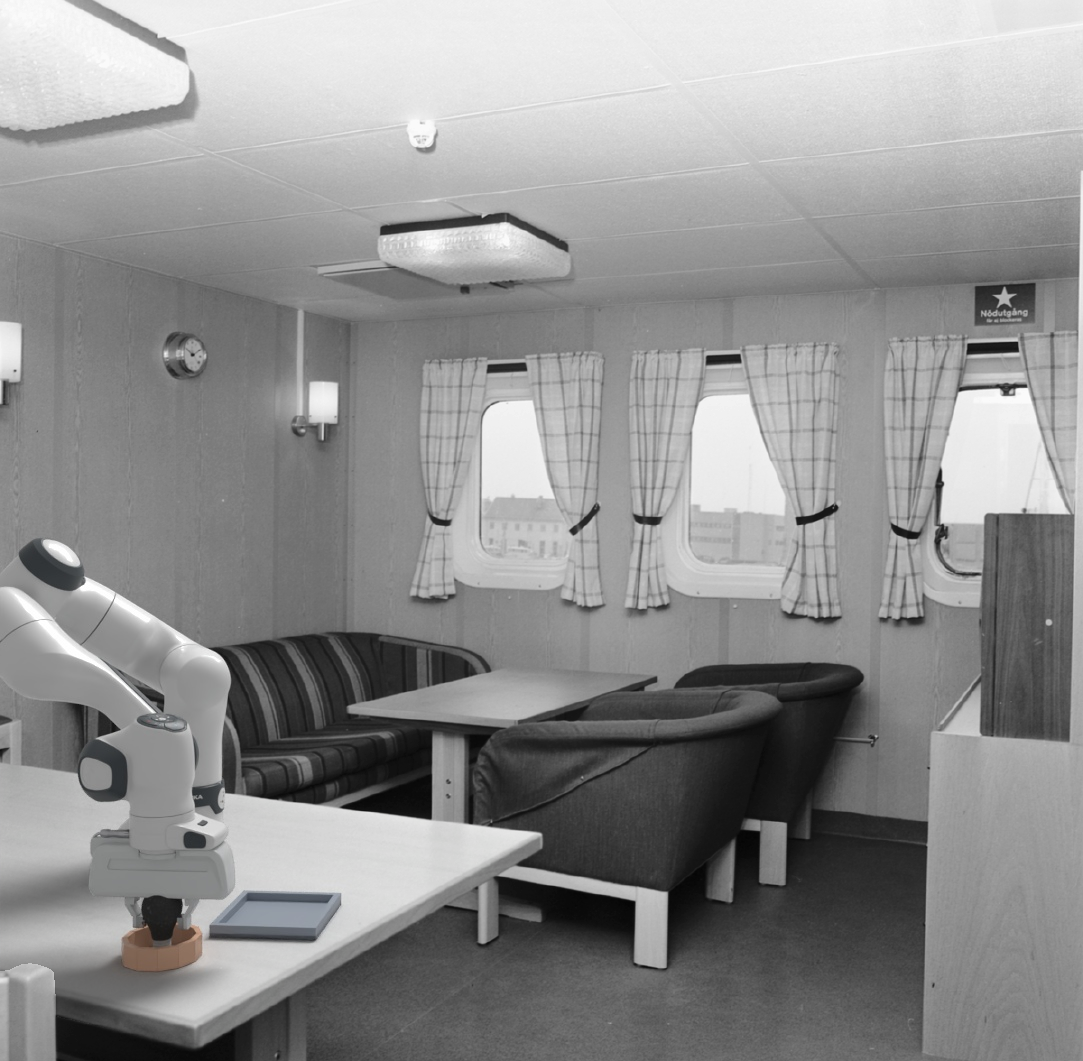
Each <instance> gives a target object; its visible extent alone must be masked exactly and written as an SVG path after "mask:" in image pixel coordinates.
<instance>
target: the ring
mask: <svg viewBox="0 0 1083 1061" xmlns="http://www.w3.org/2000/svg"><path fill="white" fill-rule="evenodd" d="M177 925H178V923H176V925H175V927H174V930H173V936H172V939H171V946H165V947H153V939H152V937H151V932H150V929H149V927H148V926H146V927H145V928H133V929H132V930H129V931H128V932H127V933H126V934H124V935H123V936H122V937H121V939H120V940H121V954H120V955H121V958H120V959H121V963H122V965H123V967H125V968H128V969H131V970H134V971H136V972H162V971H168V970H175V969H181V968H182V967H185V966H187V965H190V964H192V963H195V962H197V961H198V960H199V958H200V957H201V956H203V932H202V929H201V928H200V926H197V925H195V924H192V923H191V927H190V928H189V929H188V930H185V929H177Z"/></svg>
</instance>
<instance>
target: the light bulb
mask: <svg viewBox="0 0 1083 1061" xmlns="http://www.w3.org/2000/svg"><path fill="white" fill-rule="evenodd" d="M183 903H184V902H183V899H172V898H166V897H164V896H160V895H153V896H150V897H148V898H143V899H142V902H141V904H140V906H141V907H140V909H141V912H142V916H143V919H144V921H145V922H146V924H147V926H148V927H149V929H150V932H151V937H152V939H153V947H165V946H171V939H172V936H173V930H174V927H175V925H176V923H177V917H179V916H180V915H181V914H183V907H184V904H183Z"/></svg>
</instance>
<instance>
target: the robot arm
mask: <svg viewBox="0 0 1083 1061" xmlns="http://www.w3.org/2000/svg"><path fill="white" fill-rule="evenodd" d="M82 561H83V560H82V559H81V557H80V556H79V555H78V554H77V553H76V552H75V551H74V550H73V549H72V548H70V547H69V546H68V545H66V544H65V543H62V542H61V541H59V540H57V539H54V538H51V537H35V538H34V539H32V540H30V541H29V542H28V543H26V544H25V545H24V546H23V547H22V548H20V549H19V551H18V554H17V555H16V556H15V557H14V559H13V558H12V560H11V561H10V562H9V563H8V565H6V567H5V568H3V570H2V571H1V572H0V679H1V680H2V681H3V682H4V683H5V685H7V686H8V687H9V688H10V689H12V691H14V692H15V693H17V694H19V695H20V696H21V697H24V698H26V699H30V700H34V701H35V700H37V701H42V702H43V701H45V702H46V701H47V702H51V701H52V702H59V703H60V702H61V703H64V702H65V703H71V704H77V705H78V704H79V705H83V706H87V707H90V708H92V709H95V710H98V711H99V712H101V713H102V714H103V715H104V716H106V717H107V718H108V719H109V720H110V721H112V723H114V725H116V727H117V728H118V729H120V730H117V731H115V732H111V733H108V734H104V735H101V736H98V737H96V738H94V739H90V740H89V741H88V742H87V743H86V744H85V745H84V747H83V748H82V750H81V752H80V753H79V756H78V760H77V767H76V768H77V778H78V782H79V785H80V787H81V790H82V791H83V792H84V794H86V796H88V797H89V798H90V799H92V800H93V801H95V802H98V803H114V802H120V801H125V802H128V804H129V812H128V813H129V814H128V815H129V816H128V817H129V818H128V819H126V820H125V821H124V822H122V823H121V825H120V826H119V828H118V829H111V828H103V829H100V831H99V832H96V833H95V834H94V835H93V836H92V837H91V839H90V842H89V844H90V849H89V850H90V851H89V853H90V856H91V857H92V858H91V862H90V867H89V874H88V875H89V877H88V890H89V891H90V894H92V896H93V897H97V898H98V897H100V898H101V897H103V898H104V897H105V898H124V906H125V907H126V909H127V910H128V913H129V914H130V915H131V917H132V928H133V929H137V928H145V927H146V926H147V924H146V922H145V921H144V919H143V916H142V912H141V907H140V905H139V902H138V901H140V900H141V899H142V898H143V899H144V898H148V897H150V896H153V895H160V896H164V897H166V898H172V899H182V900H183V899H184V906H185V907H187V909H186V910H185V912H184V913H181V915H180V916H179V917H177V923H178V925H177V929H185V930H188V929H189V928H190V927H191V924H192V914H193V913H194V911H195V910H196V908H197V906H198V905H199V903H200V900H210V901H211V900H213V901H214V900H215V901H217V900H218V901H221V900H222V901H223V900H225V899H226V898H227V897H229V896H230V895H231V893H233V891H234V889H235V887H236V866H235V858H234V852H233V849H232V848H231V846H230V844H229V843H228V839H227V838H228V835H229V826H228V825H227V823H225V818H224V810H225V804H226V790H225V789H226V788H225V779H224V778H223V777H222V776H223V732H224V724H225V720H226V715H227V714H226V713H227V705H228V697H229V691H230V689H231V686H232V685H231V684H232V677H231V676H232V675H231V672H230V669H229V667H228V665H227V662H226V661H225V660H224V658H223V657H222V656H221V654H219V653H218V652H216V651H214V650H213V649H209V648H207V647H206V646H204V645H201V644H200V643H197V642H196V641H194V640H192V639H191V638H189V637H188V636H186V635H184V634H183V633H182V632H179V631H178V630H176V629H175V628H173V627H172V626H170V625H168V624H167V623H166V622H164V621H162V619H159V618H157V616H155V615H153V614H152V613H150V612H149V611H147V610H145V609H144V608H142V607H140V606H138V605H137V604H135V603H134V602H132V601H131V600H128V598H125V597H124V596H122V595H121V594H119V593H118V592H116V591H114V590H112V589H110V588H109V587H108V586H105V585H103V584H101V583H100V582H98V581H95V580H93V579H92V578H90V577H86V576H85V568H84V564H83V562H82ZM120 671H121V672H123V673H125V674H127V675H128V676H130V677H132V678H133V679H135V680H137V681H139V682H141V683H142V684H144V685H146V686H147V687H149V688H151V689H153V690H155V691H156V692H158V693H160V694H161V695H163V696H164V706H163V711H162V710H161V709H160V708H158V706H156V705H155V703H153V702H152V701H151V700H150V699H149V698H148V697H147V696H146V695H145V694H144V693H142V692H141V691H140V689H138V687H137V686H135V685H134V684H133V683H132V682H131V681H130V680H129V679H128V678H127V677H126V676H125V675H123V673H121V672H120Z"/></svg>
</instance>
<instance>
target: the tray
mask: <svg viewBox="0 0 1083 1061" xmlns="http://www.w3.org/2000/svg"><path fill="white" fill-rule="evenodd" d="M340 906H342V892H322V891H321V892H319V891H317V892H316V891H315V892H314V891H287V890H286V891H279V890H277V891H275V890H245V889H244V890H243V891H242V892H241V893H240V894H239V895H237V896H236V897H235V899H233V900H232V902H231V903H230V904H229V905H228V906H226V908H224V910H222V912H220V914H219V915H217V917H216V918H215V919H214V920H212V922H211V923H209V925H208V926H209V927H208V928H209V933H208V934H209V938H225V939H226V938H227V939H228V938H232V939H239V938H240V939H259V940H260V939H264V940H265V939H267V940H293V941H294V940H297V941H303V940H305V941H317V939H318V938H319V937H320V935H321V934H322V932H323V931H324V929H325V928H326V927H327V925H328V923H329V922H330V921H331V919H332V918H333V917H334V915H335V913H336V912H337V910H339V908H340Z"/></svg>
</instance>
